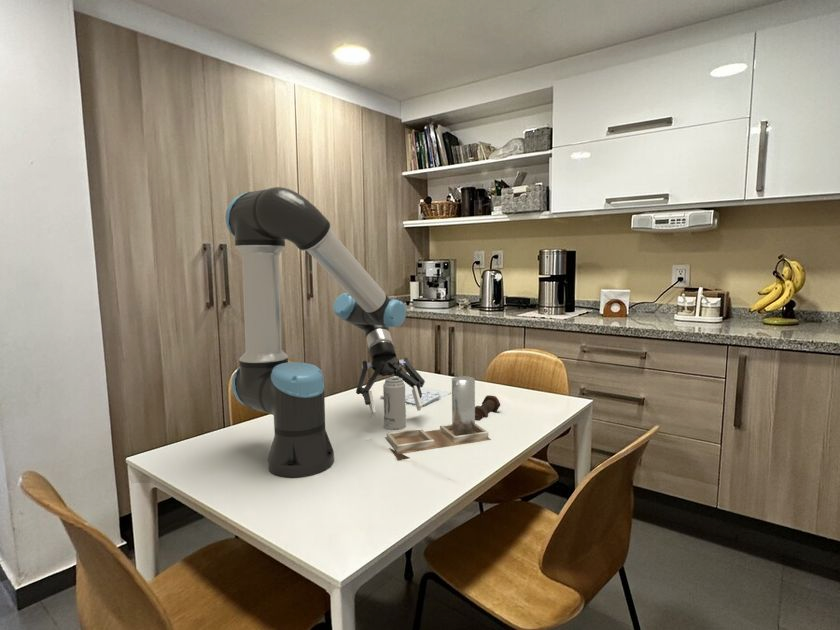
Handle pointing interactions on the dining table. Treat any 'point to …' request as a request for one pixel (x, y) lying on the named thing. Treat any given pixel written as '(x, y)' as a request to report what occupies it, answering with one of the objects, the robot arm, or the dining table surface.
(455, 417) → the cylinder
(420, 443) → the tray
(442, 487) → the dining table surface
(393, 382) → the energy drink can
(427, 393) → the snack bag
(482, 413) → the bolt
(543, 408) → the dining table surface
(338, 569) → the dining table surface
